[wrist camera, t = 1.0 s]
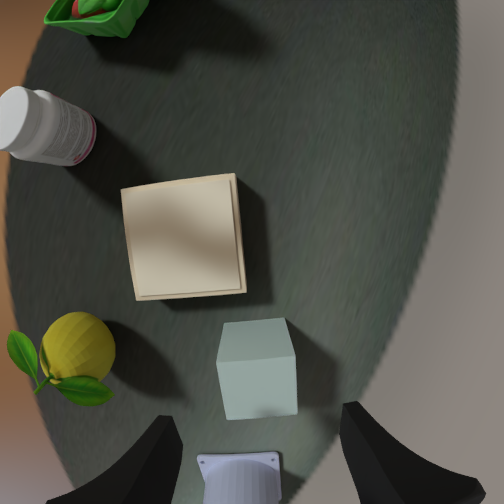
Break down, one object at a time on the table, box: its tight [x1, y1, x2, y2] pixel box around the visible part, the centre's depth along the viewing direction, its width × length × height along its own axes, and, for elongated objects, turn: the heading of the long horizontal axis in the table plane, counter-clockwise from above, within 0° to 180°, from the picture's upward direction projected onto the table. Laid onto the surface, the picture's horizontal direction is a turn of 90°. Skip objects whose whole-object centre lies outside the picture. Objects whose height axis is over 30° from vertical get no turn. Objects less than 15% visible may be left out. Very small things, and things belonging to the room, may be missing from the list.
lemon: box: [7, 312, 115, 406], centre depth 17 cm, size 7×6×10 cm
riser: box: [121, 173, 247, 301], centre depth 20 cm, size 8×8×3 cm
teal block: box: [216, 318, 297, 420], centre depth 20 cm, size 4×4×6 cm
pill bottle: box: [0, 86, 96, 166], centre depth 16 cm, size 5×5×8 cm
